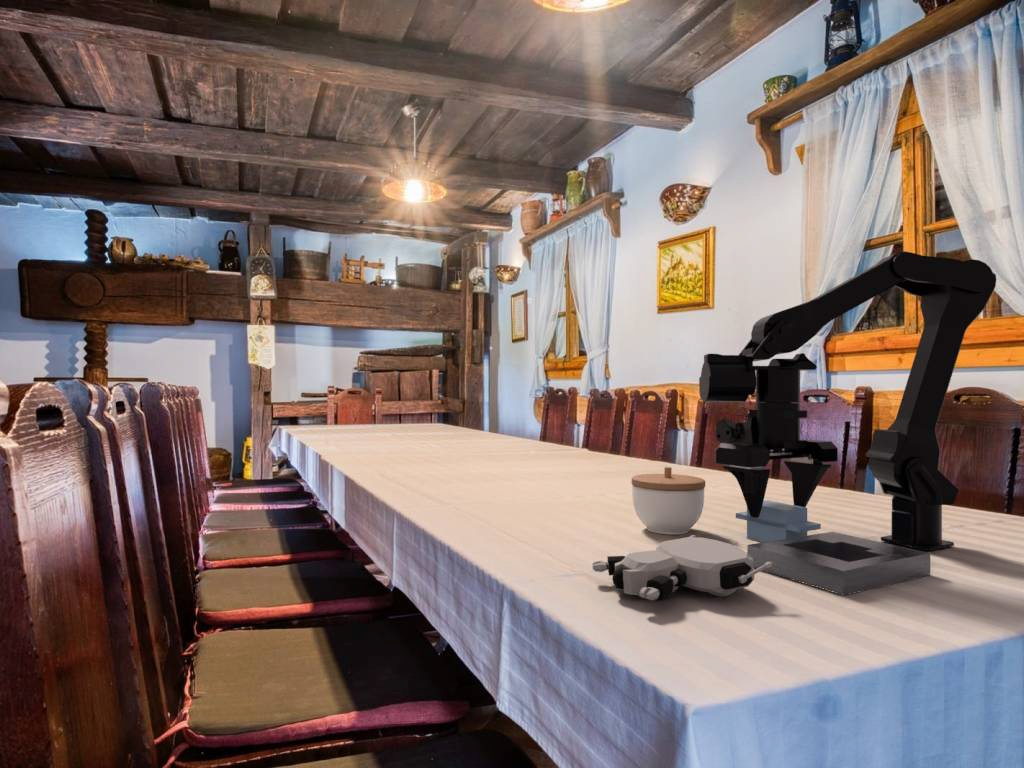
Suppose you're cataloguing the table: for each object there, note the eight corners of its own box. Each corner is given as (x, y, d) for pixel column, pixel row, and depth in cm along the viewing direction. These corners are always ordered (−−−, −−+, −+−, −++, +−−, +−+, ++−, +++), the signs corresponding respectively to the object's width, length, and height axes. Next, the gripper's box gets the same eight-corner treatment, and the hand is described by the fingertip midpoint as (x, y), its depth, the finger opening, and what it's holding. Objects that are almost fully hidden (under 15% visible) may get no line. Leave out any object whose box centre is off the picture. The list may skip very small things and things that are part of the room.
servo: (763, 530, 93) (763, 497, 93) (828, 546, 83) (828, 509, 84) (735, 535, 90) (735, 500, 90) (799, 551, 81) (799, 513, 81)
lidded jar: (616, 529, 93) (617, 466, 93) (657, 519, 100) (657, 461, 100) (679, 542, 85) (679, 474, 85) (718, 531, 92) (719, 468, 92)
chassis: (832, 550, 81) (832, 531, 81) (930, 574, 70) (930, 552, 71) (747, 565, 73) (747, 544, 73) (843, 595, 63) (843, 571, 63)
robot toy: (650, 631, 56) (779, 600, 61) (647, 581, 56) (776, 554, 61) (586, 589, 67) (699, 566, 73) (583, 548, 67) (697, 528, 72)
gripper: (773, 401, 98) (773, 500, 98) (686, 401, 89) (685, 510, 89) (840, 403, 88) (839, 512, 88) (749, 403, 79) (748, 525, 79)
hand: (777, 514), depth 86 cm, fingers open, 9 cm apart
